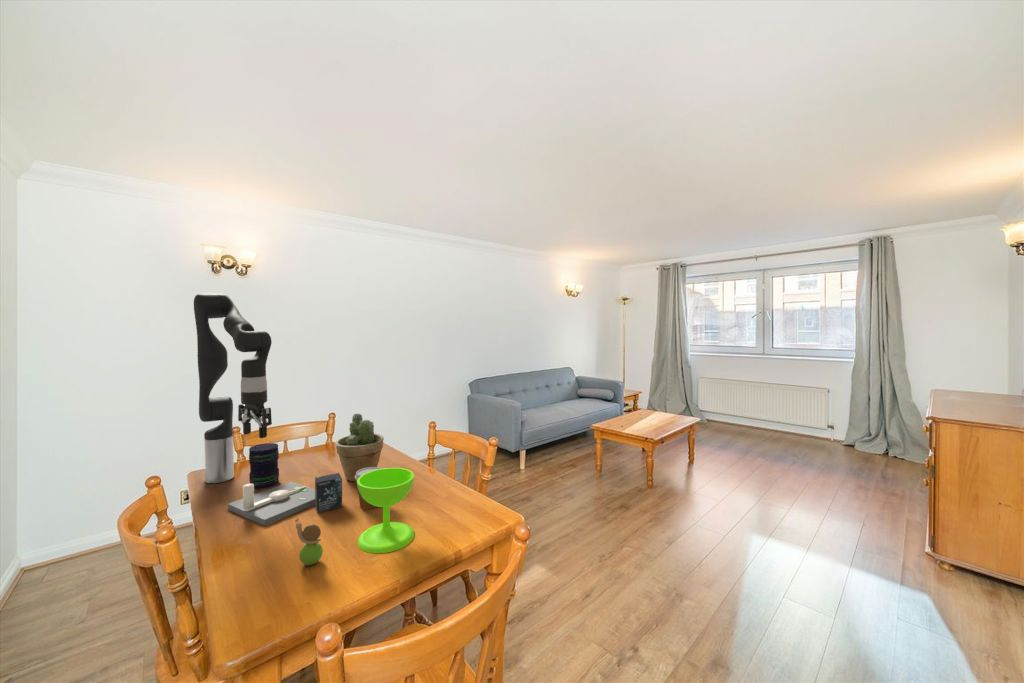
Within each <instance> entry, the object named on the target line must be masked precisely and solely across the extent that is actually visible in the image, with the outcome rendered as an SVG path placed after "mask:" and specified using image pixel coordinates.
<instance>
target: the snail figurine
mask: <svg viewBox="0 0 1024 683" xmlns="http://www.w3.org/2000/svg"><path fill="white" fill-rule="evenodd" d="M299 519H300V518H298V517H297V518H296V519H295V529H296V531H297V535H298V536H297V537H298V539H299V540H300V542H301V543H303V544H305V545H303V547H301V549H300V551H299V561H300V563H302V564H303V565H305V566H311V565H315V564H316V563H318V562H319V561H320V559H321V558H322V556H323V551H324V550H323V546H322V544H320V543H319V542H320V541H321V540H322V539H321V538H320V537H321V534H322V532H321V528H320V527H319V526H318V525H317V524H307V525H306V526H305V527H304V528H303V529H302V526H303V525H302V523H300V522H299Z"/></svg>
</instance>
